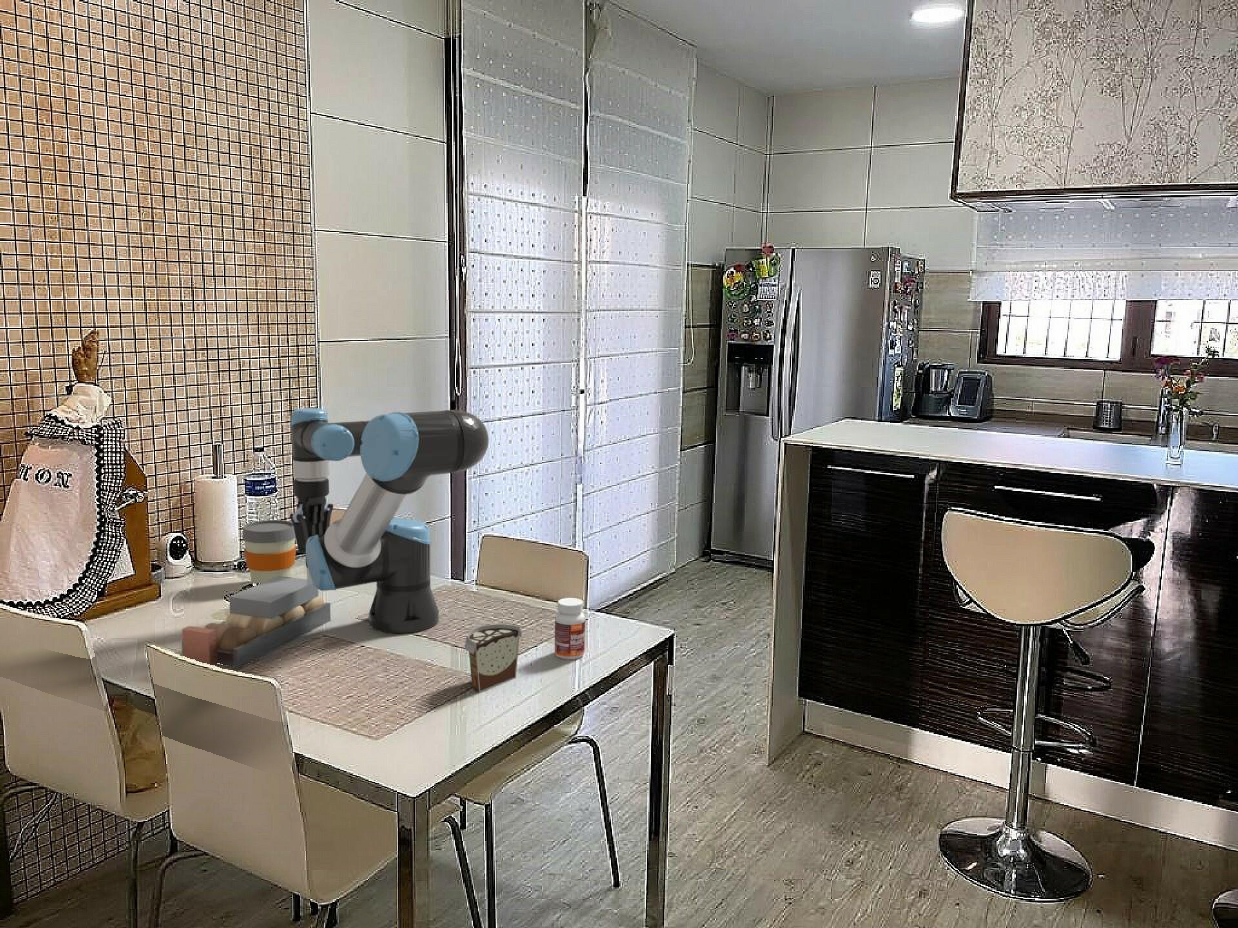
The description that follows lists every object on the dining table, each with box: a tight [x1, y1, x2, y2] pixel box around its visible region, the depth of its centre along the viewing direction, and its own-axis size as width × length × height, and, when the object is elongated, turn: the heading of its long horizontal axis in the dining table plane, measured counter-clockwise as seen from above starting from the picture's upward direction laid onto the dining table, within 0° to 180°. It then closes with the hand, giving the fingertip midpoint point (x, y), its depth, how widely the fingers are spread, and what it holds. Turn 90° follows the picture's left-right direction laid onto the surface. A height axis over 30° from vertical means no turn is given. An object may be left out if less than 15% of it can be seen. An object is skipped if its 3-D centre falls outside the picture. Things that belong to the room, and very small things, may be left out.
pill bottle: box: [554, 597, 586, 661], centre depth 189 cm, size 6×6×11 cm
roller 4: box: [299, 595, 325, 613], centre depth 205 cm, size 10×6×6 cm, turn 73°
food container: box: [464, 623, 523, 694], centre depth 175 cm, size 12×6×10 cm, turn 141°
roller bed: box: [181, 602, 332, 670], centre depth 192 cm, size 13×34×8 cm, turn 163°
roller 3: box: [279, 606, 305, 623], centre depth 198 cm, size 10×6×6 cm, turn 73°
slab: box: [228, 576, 319, 619], centre depth 198 cm, size 10×16×4 cm, turn 163°
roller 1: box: [203, 622, 257, 652], centre depth 185 cm, size 9×6×6 cm, turn 73°
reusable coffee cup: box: [242, 519, 297, 584], centre depth 229 cm, size 12×13×15 cm
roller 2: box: [224, 612, 284, 637], centre depth 192 cm, size 10×6×6 cm, turn 73°
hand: (314, 580), depth 211 cm, fingers closed
